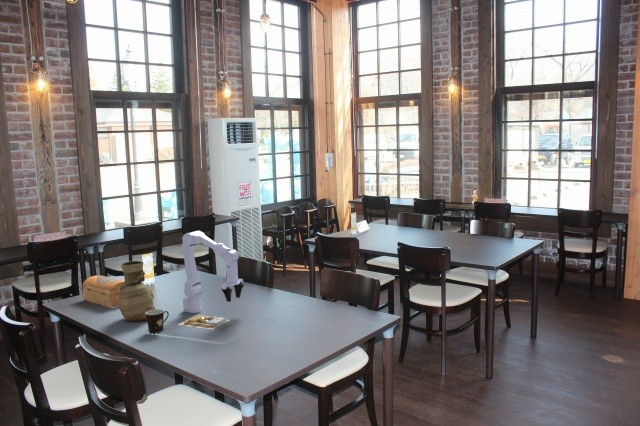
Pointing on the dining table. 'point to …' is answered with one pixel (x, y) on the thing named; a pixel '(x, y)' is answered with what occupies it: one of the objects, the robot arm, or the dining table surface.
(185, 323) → the jig board
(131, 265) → the ceramic vessel
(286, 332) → the dining table surface
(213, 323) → the panel
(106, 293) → the wooden box
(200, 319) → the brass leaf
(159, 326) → the coffee mug
